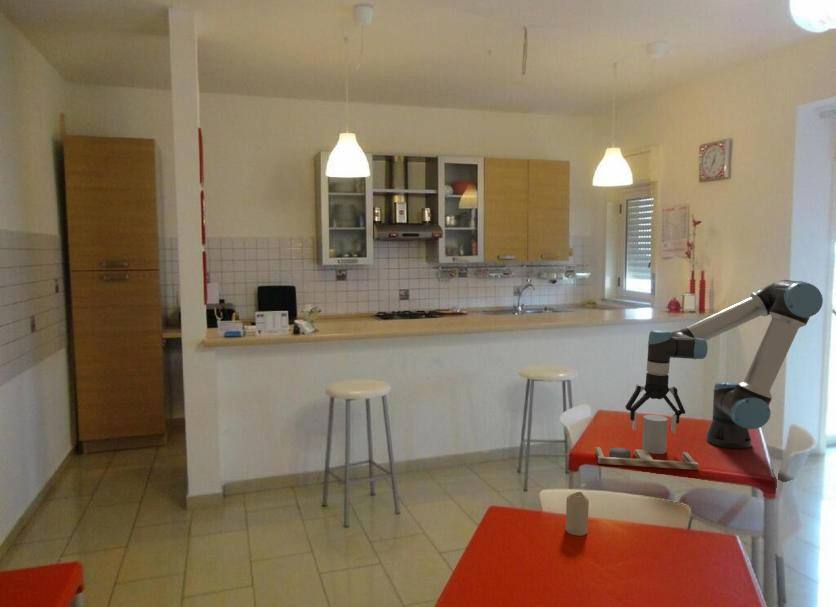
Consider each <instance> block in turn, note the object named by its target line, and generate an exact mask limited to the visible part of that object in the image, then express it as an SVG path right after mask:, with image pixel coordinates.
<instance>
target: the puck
mask: <svg viewBox="0 0 836 607" xmlns="http://www.w3.org/2000/svg"><path fill="white" fill-rule="evenodd" d="M608 452H609V454H608V457H616V458H631V452H632V451H630V449H628V448H623V447H611V448H610V449H609V450H608Z"/></svg>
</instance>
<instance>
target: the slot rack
mask: <svg viewBox="0 0 836 607" xmlns="http://www.w3.org/2000/svg"><path fill="white" fill-rule="evenodd" d="M595 454H596V457H597V463H598V464H601V465H616V466H617V465H618V466H628V467H630V466H631V467H645V468H646V467H648V468H662V469H663V468H664V469H679V470H680V469H681V470H695V471H698V470H699V463H698V462H696V461H695V460H694V459H693V457H692V456H691V455H690V454H689V453H688V452H687V451H682V454H681V455H682V456H681V458H682V460H684V461H681V460H680V461H679V460H664V459H663V460H662V459H653V457H652V456H651V453H649V452H648V451H647V450H642V449H639V448H638V449H636V448H635V449H634V456H635V457H636V458H633V457H632V458H631V457H630V458H616V457H609V456H605V455H604V453H603V450H602V448H601V447H600V446H595Z"/></svg>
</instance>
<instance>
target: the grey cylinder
mask: <svg viewBox="0 0 836 607" xmlns="http://www.w3.org/2000/svg"><path fill="white" fill-rule="evenodd" d="M642 419H643V421H642V442H641V443H642V444H641V445H642V446H641V450H647V451H648V453H649V454H653V455H663V454H665V453H666V452H667V443H668V442H667V437H668V422H669V421H668V417H666V416H663V415H659V414H645V415H643V418H642Z"/></svg>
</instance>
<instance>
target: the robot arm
mask: <svg viewBox="0 0 836 607" xmlns="http://www.w3.org/2000/svg"><path fill="white" fill-rule="evenodd" d="M823 301H824V298H823V294H822V293H821V291H820V289H819V288H818V287H817V286H815V285H814V284H812V283H809V282H807V281H801V280H790V279H782V280H781V279H780V280H778V281H775V282H772V283H769V284H768V285H766V286H765V287H761V288H760V289H758V290H756V291H754V292H752V293H750V295H749V297H748V298H745V299H744V300H741V301H739V302H737V303H735V304H733V305H731V306H729V307H726V308H723V309H722V310H720V311H718V312H716V313H714V314H712V315H710V316H708V317H705V318H703V319H701V320H699V321H697V322H695V323H693V324H691V325H688V326H687V327H685V328H684V327H683V328H682V329H680V330H673V331H670V330H664V329H663V330H662V329H652V330H651V331H650V332H649V335H648V341H647V361H646V362H647V363H646V374H645V375H646V376H645V385H640V384H636V385H635V390H634V392H633V393H632V395H631V397H630V398H629V400H628V402H627V403H626V405H625V409H626V410H627V411H629V412H630V414H629V415H630V417H629V419H630V420H631V421H632V430H633V431H637V422H638V420H637V418H638V412H637V410H638V409H639V408H640V407H641V406H642V405H643V404H645V403H646V401H648V400H649V399H651V400H655V399H656V400H662V399H663V400H664V401H665V402H666V403H667V405H668V406H669V407H670V408H671V410H672V411H673V412H674V413H672V416H671V427H670V428H671V429H670V430H671V433H672V434H676V431H677V430H676V429H677V424H678V425H679V424H680V416H682V415H684V414H686V410H685V408H684V406H683V403H682V401H681V398H680V397H679V394H678V388H677V387H676V386H672V387H669V377H670V375H669V373H670V362H671V359H672V358H673V359H689V360H690V359H691V360H702V359H703V360H704V359H705V358H706V357H707V354H708V350H709V349H708V342H707V341H708V340H711V339H712V338H715V337H717V336H720V335H722V334H724V333H725V332H729V331H730V330H733V329H735V328H737V327H739V326H741V325H743V324H745V323H748V322H750V321H752V320H754V319H756V318H759V317H760V316H761V317H767V316H769V315H770V316H771V321H770V322H769V325H768V326H767V329H766V330H765V334H764V336H763V338H762V339H761V340H762V341H761V342H760V345H759V347H758V349H757V351H756V353H755V356H754V358H753V360H752V362H751V365H750V366H749V368H748V370H747V372H746V375H745V377H744V379H743V380H742V381H740V382H734V381H733V382H732V381H729V382H728V381H719V382H716V383H714V388H713V400H712V402H713V403H712V418H711V419H712V420H711V422H710V425H709V427H708V429H707V432H706V435H705V436H706V438H705V440H706V441H707V442H708V443H710V444H712V445H714V446H718V447H722V448H727V449H737V450H739V449H749V448H750V447H752V437H751V435H750V430H757V429H759V428H762V427H763V426H765V425H767V423H768V422H769V420H770V417H771V412H772V411H771V408H770V406H769V405H770V404H771V401H772V399H773V396H772V394H771V390H772V387H773V385H774V383H775V380H776V378H777V377H778V374H779V372H780V369H781V368H782V365H783V364H784V361H785V359H786V357H787V355H788V352H789V350H790V348H791V346H792V344H793V342H794V339H795V338H796V335H797V333H798V331H799V329H800V328H802V327H806V326H807V324H808V322H809V320H810V318H811V317H813V316H814V315H817V314H818V313H819V312H820V311H821V309H822V306H823V304H824V303H823ZM643 391H645V393H644V394H643V396H641V397H640V398H639V400H637V398H638V397H639V395H640V394H641V393H642V392H643ZM669 392H670V394H672V396H673V399H674V400H675V402H676V405H677V407H678V408H677V407H676V406H675V405H674V404H673V402H672V401H671V400H670V399H669V397H668V396H667V395H668V393H669ZM636 400H637V401H636Z"/></svg>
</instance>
